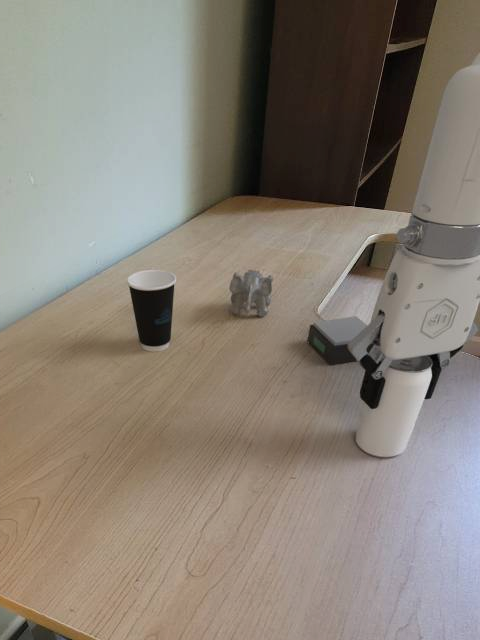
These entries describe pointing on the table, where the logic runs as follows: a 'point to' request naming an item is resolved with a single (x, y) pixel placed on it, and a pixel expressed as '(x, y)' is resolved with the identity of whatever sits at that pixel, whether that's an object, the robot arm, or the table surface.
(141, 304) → the dixie cup
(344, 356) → the scale
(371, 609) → the table surface
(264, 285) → the elephant statuette
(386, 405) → the can
